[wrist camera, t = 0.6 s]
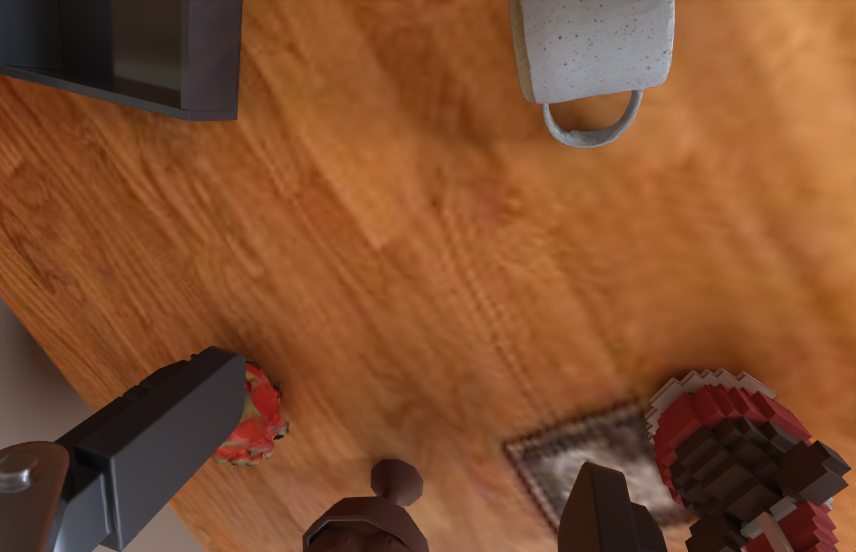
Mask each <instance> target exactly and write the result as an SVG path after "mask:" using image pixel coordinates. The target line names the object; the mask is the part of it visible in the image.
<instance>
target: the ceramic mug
mask: <svg viewBox="0 0 856 552" xmlns="http://www.w3.org/2000/svg"><path fill="white" fill-rule="evenodd" d="M674 2H675V0H509V12H510V22H511V30H512V41H513V47H514V53H515V59H516V65H517V71H518V77H519V83H520V87H521V91H522V94H523V96H524V98H525V99H526V100H528V101H529V102H531V103H541V104H542V111H543V117H544V120H545V123H546V126H547V128H548V129H549V131H550V133H551V134H552V136H553V137H554V138H555V139H557V140H558V141H559V142H561V143H563V144H565V145H567V146H569V147H574V148H594V147H599V146H603V145H606V144H608V143H611V142H612V141H614V140H616V139H617V138H618V137H619V136H621V135H622V134H623V132H624V131H625V130H626V129H627V128H628V127H629V125H630V124H631V123H632V121H633V119H634V117H635V115H636V113H637V111H638V108H639V106H640V102H641V98H642V94H643V89H644V88H649V87H655V86H659V85H661V84H662V83H664V81H665V79H666V78H667V75H668V71H669V68H670V63H671V58H672V51H673V39H674V24H675V16H674V14H675V7H674ZM630 90H632V95H631V99H630V102H629V104H628V106H627V108H626V110H625V112H624V114H623V115H622V117H621V118H620V119H619V120H618V121H617V122H616V123H615V124H614V125H612V126H611V127H607V128H606V129H602V130H592V131H577V130H572V131H569V132H567V131H565V130H563V129H561V128H560V127H559V126H558V125H557V124H556V123H555V121H554V120H553V117H552V115H551V113H550V109H549V106H548V105H549V103H559V102H565V101H570V100H575V99H579V98H585V97H591V96H598V95H605V94H613V93H619V92H624V91H630Z"/></svg>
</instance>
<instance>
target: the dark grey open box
mask: <svg viewBox="0 0 856 552" xmlns="http://www.w3.org/2000/svg"><path fill="white" fill-rule="evenodd" d="M241 19H242V0H0V75H4V76H8V77H12V78H16V79H20V80H24V81H28V82H32V83H37V84H41V85H45V86H49V87H53V88H57V89H61V90H65V91H69V92H73V93H77V94H81V95H85V96H89V97H93V98H97V99H101V100H105V101H109V102H113V103H117V104H121V105H126V106H130V107H134V108H138V109H142V110H146V111H150V112H154V113H158V114H162V115H166V116H170V117H174V118H178V119H182V120H186V121H219V120H237V105H238V84H239V62H240V40H241Z"/></svg>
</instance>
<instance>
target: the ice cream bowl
mask: <svg viewBox="0 0 856 552" xmlns="http://www.w3.org/2000/svg"><path fill="white" fill-rule="evenodd" d="M371 488H372V489H373V491H374V492H375V493H376V495H377V497H350V498H343V499H342V500H340V501H339V502H337V503H336V504H334V505H333V506H332V507H331V508H330V509H329V510H328V511H326V512H325V513H324V514H323V515H322V516H321V517H320V518H319V519H317V520H316V521H315V522H314V523H313V524H312V525H311V526H310V528H309V529H308V530H307V531H306V532H305V534H304V535H303V536H302V537H303V552H429V548H428V544H427V540H426V538H425V537H424V535H423V534H422V533H421V531H420V530H419V528H418V527H417V525H416V524H415V523H414V521H413V520H412V518H411V517H410V515H409V514H408V513H407V512H406V510H405V509H404V508H402V507H400V506H410V505H411V504H412V503H413V502H415V501H416V500H417V499H419V498H420V496H421V495H422V488H423V480H422V479H421V477H420V476H419V474H418V473H417V471H416V470H415V468H414V467H412V466H410V465H408V464H406V463H404V462H402V461H400V460H381V461H380V462H379V463H378V464H377V465H376V466H375V467H374V468H373V469H372V470H371Z"/></svg>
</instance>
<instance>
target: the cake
mask: <svg viewBox="0 0 856 552" xmlns="http://www.w3.org/2000/svg"><path fill="white" fill-rule="evenodd" d="M776 396H777V395H776V394H775V392H774V391H773V390H772V389H770V388H768V387H767V386H765V385H764V384H762V383H761V382H759V381H758V380H756V379H755V378H753V377H751V376H750V375H748V374H747V373H745V372H744V371H741V372H740V373H739V374H738V375H737V376H736V377H735V376H734V375H732V374H730V373H729V372H727V371H726V370H724V369H723V368H721V367H720V368H719V369H718V370H717V371H716V372H715V373H713V372H711V371H710V370H708V369H707V368H706V369H705V370H704V371H703V372H702V373H701V374H698V373H697V372H695V371H694V370H692V371H691V372H690V373H689V374H687V375H686V376H685V377H684V378H683V379H682V380H681V381H678V380H677V379H675V378H674V377H672V378H671V379H670V380H669V381H668V382H667V383H666V384H665V385H664V386H663V387H662V388H661V389H660V390H659V391H658V392H657V393H656V394H655V395H654V396H653V397H652V398H651V399H650V400H649V402H650V404H651V405H652V406H653V408H652V409H651V410H650V411H649V412H648V413H647V414H646V415H645V418H646V421H647V422H649V423H648V424H647V425H646V427H647V430H648V431H649V432H650V433H649V434H648V435H647V436H648V439H649V441H650V442H652V443H653V444H655V447H654V451H655V453H656V457H655V460H656V463H657V466H658V469H659V472H660V475H661V478H662V480H663V483H664V484H665V485H666V486H668V487H669V490H670V493H671V496H672V499H673V500H674V501H676V502H677V503H679V504H680V505H682V506H684V508H685V509H686V510H688V511H689V512H691V513H692V514H694V515H695V516H697V517H698V518H700V520H698V521H697V522H696V523H695V524H693V525H692V526H691V527H689V529H690V532H691V534H692V537H690V538H689V539H688V540H686V541H685V543H686V546H687V549H688V552H838V550H837V549H836V547H835V546H834V544H836V543H837V542H839V541H838V540H837V538H836V537H835V535H834V534H833V532H832V531H833V530H834V529H836V526H835V525H834V523H833V522H832V521H831V519H830V518H829V517H828V515H827V513H828V512H829V511H831V510H832V507H831V506H830V504H831V503H833V502H834V500H833V499H832V497H833V496H834V495H835V494H837V493H838V492H840V491H841V490H843V489H844V488H845V487H847V486H848V484H847V483H846V481H845V480H844V479H843V478H842V477H841V476H842V475H844V474H845V473H847V472H848V471H849V470H851V468H850V467H849V466H848V464H847V463H846V462H845V461H844V460H843V459H842V458H841V457H840V455H839V454H838V453H837V452H835V451H834V450H832V449H831V448H829V447H828V446H826V445H825V444H823V443H821V442H820V441H818V440H817V441H816V442H814V443H813V444H812V443H811V442H810V441H809V440H808V439H810V438H811V437H812V436H811V435H810V434H809V432H808V431H807V430H806V429H805V428H804V427H803V425H802V424H801V423H800V422H799V421H798V419H797V418H796V417H795V416H794V415H793V414H792V412H791V411H789V410H788V409H786V408H784V407H783V406H781V405H780V404H778V403H777V402H775V401H774V400H772V399H773V398H774V397H776Z"/></svg>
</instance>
